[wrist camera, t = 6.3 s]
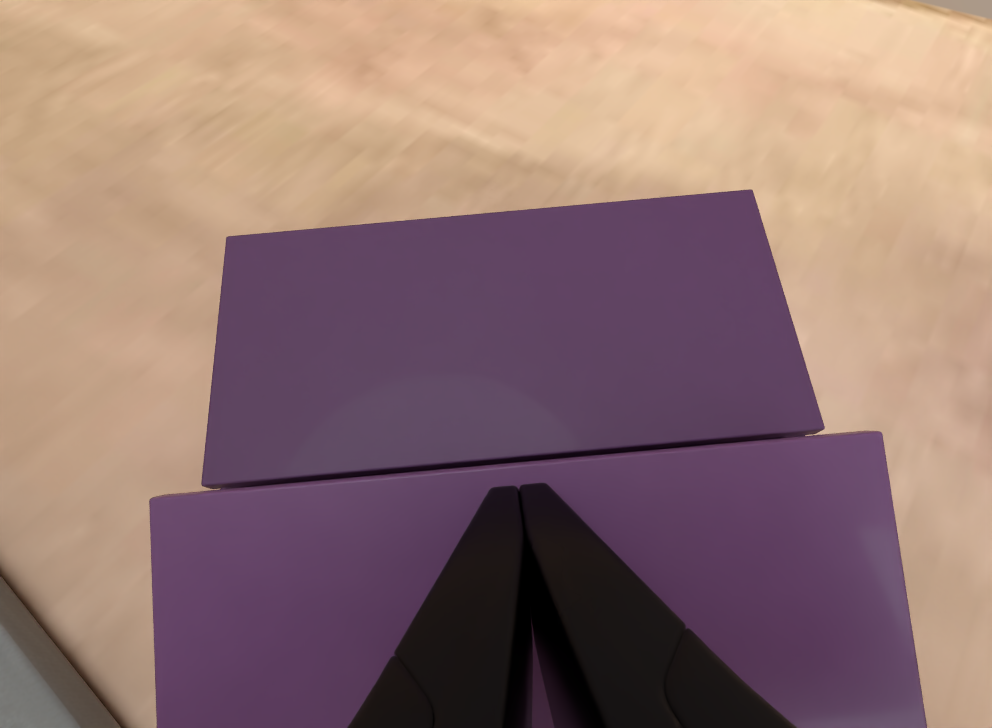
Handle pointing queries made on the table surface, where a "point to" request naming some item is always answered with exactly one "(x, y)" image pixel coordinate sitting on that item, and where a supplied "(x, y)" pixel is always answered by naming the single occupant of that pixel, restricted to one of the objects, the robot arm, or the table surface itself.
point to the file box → (501, 341)
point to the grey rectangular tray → (40, 677)
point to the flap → (423, 554)
